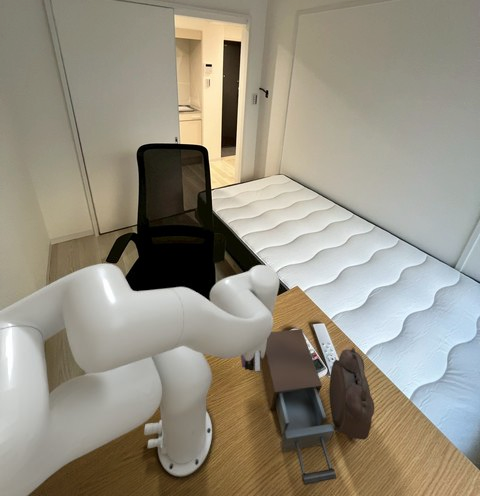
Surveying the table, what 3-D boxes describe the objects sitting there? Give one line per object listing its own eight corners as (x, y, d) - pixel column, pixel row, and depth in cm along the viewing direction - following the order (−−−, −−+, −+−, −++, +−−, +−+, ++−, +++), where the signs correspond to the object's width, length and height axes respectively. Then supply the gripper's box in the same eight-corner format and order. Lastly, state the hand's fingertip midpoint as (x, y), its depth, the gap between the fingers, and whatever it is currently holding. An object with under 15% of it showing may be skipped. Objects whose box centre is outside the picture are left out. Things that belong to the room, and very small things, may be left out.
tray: (340, 484, 53) (349, 471, 50) (290, 494, 51) (296, 482, 48) (306, 377, 70) (310, 364, 67) (268, 382, 68) (271, 368, 66)
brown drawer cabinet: (315, 402, 66) (322, 385, 62) (270, 409, 64) (274, 391, 60) (296, 345, 79) (301, 328, 75) (258, 349, 77) (261, 332, 73)
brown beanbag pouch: (362, 456, 57) (391, 415, 49) (331, 446, 58) (353, 404, 50) (350, 384, 70) (371, 341, 62) (324, 377, 71) (341, 334, 63)
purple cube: (242, 367, 64) (243, 357, 62) (239, 350, 68) (241, 340, 66) (258, 366, 65) (260, 356, 63) (255, 348, 69) (257, 338, 67)
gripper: (237, 284, 66) (231, 328, 73) (247, 350, 51) (239, 397, 58) (264, 283, 67) (256, 326, 74) (282, 347, 52) (269, 393, 59)
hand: (249, 357), depth 66 cm, fingers closed on purple cube, 4 cm apart
